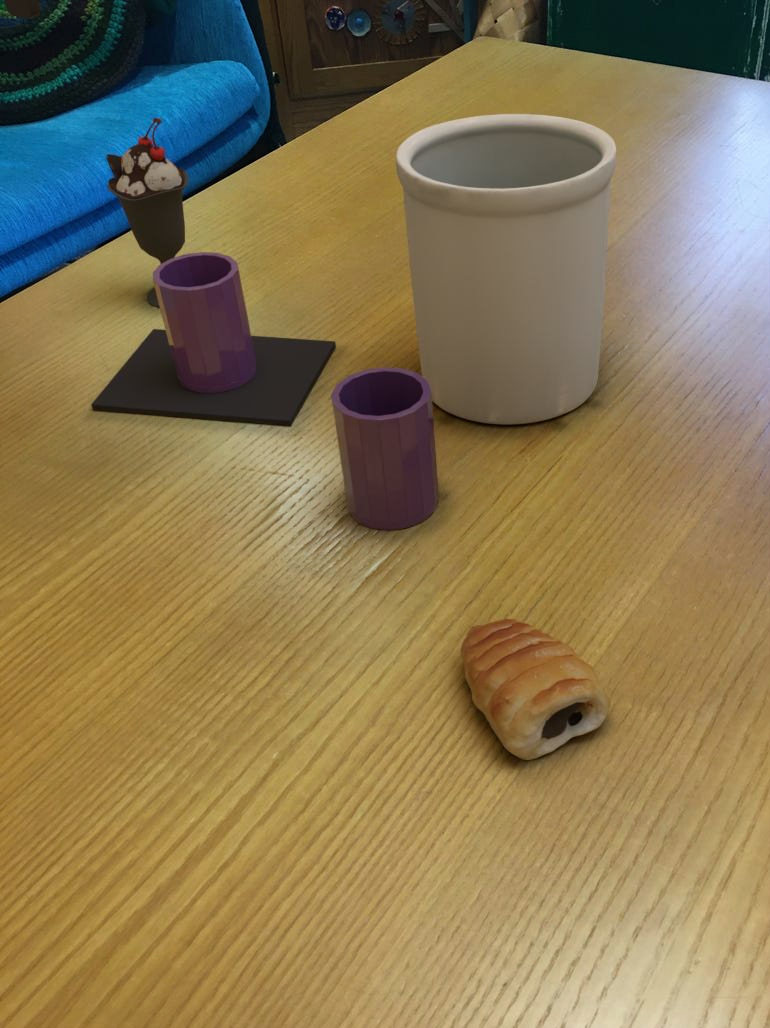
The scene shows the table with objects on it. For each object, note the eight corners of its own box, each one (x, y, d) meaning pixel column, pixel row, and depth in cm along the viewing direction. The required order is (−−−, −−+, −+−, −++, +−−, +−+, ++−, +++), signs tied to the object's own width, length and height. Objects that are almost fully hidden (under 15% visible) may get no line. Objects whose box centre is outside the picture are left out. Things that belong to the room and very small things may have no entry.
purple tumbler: (336, 525, 73) (319, 415, 67) (361, 471, 78) (347, 364, 72) (426, 534, 72) (417, 423, 66) (446, 479, 77) (439, 370, 71)
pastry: (432, 666, 63) (428, 617, 61) (531, 624, 66) (532, 575, 63) (518, 775, 57) (517, 725, 55) (623, 724, 60) (628, 675, 57)
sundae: (225, 297, 97) (188, 120, 87) (154, 320, 95) (107, 140, 84) (195, 271, 101) (156, 98, 91) (126, 292, 99) (78, 117, 88)
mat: (92, 410, 85) (90, 404, 84) (154, 334, 93) (153, 328, 93) (290, 426, 82) (289, 420, 82) (336, 346, 90) (335, 341, 90)
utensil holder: (410, 339, 91) (391, 116, 79) (588, 325, 92) (597, 103, 80) (419, 437, 80) (399, 198, 68) (620, 422, 81) (636, 182, 69)
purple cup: (166, 390, 85) (139, 287, 80) (195, 350, 90) (172, 250, 84) (241, 396, 84) (219, 292, 79) (268, 355, 89) (249, 254, 83)
